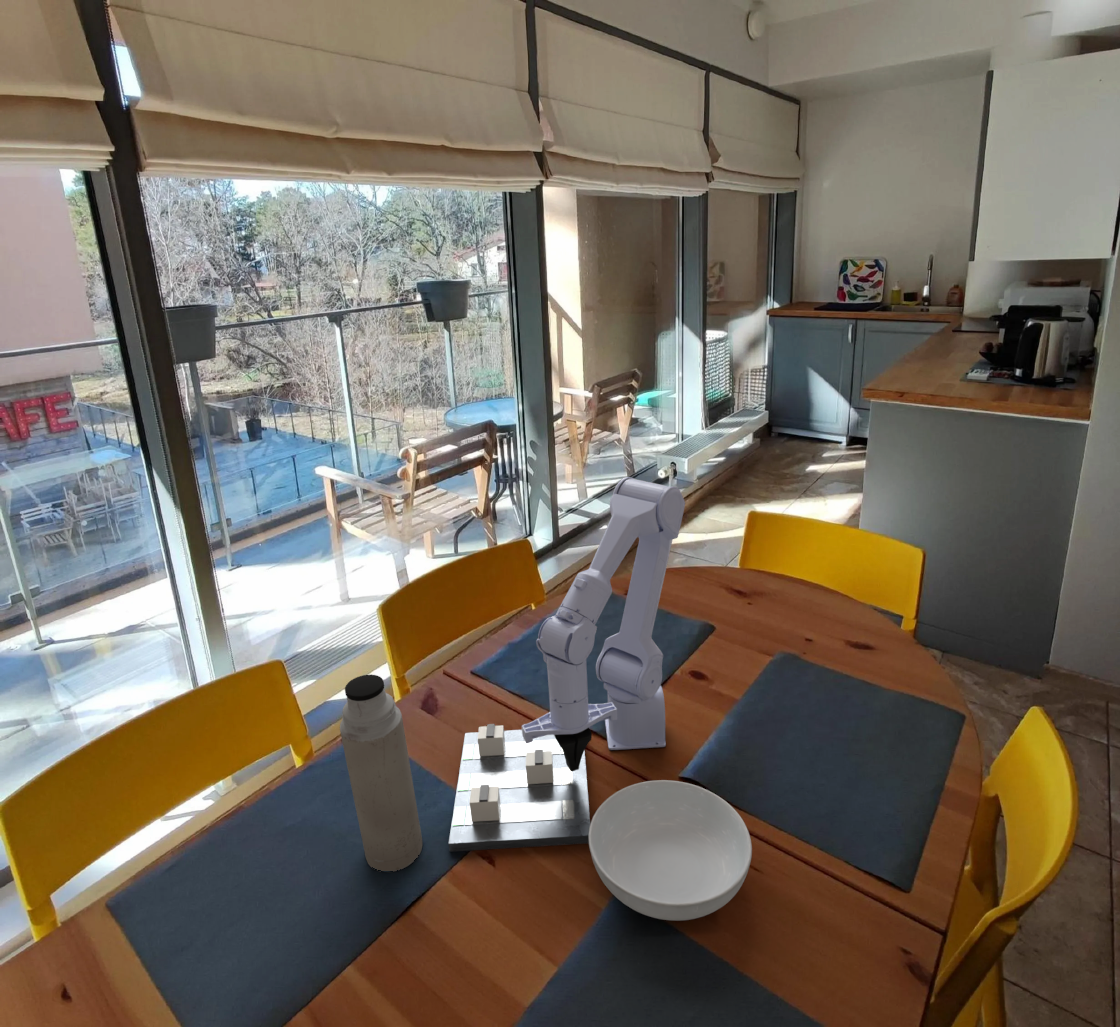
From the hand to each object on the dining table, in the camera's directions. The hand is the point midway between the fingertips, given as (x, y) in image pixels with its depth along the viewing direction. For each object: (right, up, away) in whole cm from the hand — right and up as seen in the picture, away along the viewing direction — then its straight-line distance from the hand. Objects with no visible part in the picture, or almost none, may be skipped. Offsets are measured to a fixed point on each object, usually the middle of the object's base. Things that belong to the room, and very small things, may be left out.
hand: (572, 766), depth 114 cm
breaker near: (-13, -5, -6) cm, 15 cm away
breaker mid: (-5, -2, +1) cm, 5 cm away
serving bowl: (+13, -9, -15) cm, 22 cm away
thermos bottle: (-25, -9, -9) cm, 28 cm away
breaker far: (-13, 0, +7) cm, 15 cm away
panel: (-8, -4, +1) cm, 9 cm away
